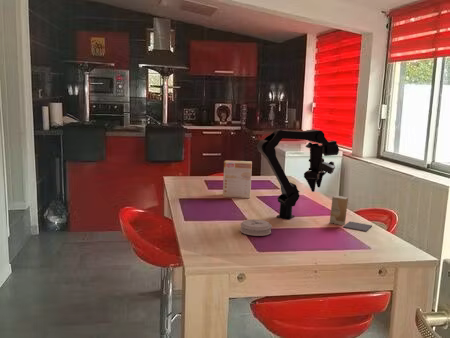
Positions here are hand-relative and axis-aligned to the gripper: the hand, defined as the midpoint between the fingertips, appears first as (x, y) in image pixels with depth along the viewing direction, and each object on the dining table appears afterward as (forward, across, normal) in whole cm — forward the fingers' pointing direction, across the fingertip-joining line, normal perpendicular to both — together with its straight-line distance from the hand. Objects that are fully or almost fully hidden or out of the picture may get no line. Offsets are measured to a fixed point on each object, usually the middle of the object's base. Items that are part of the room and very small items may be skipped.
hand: (316, 189), depth 213 cm
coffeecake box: (+11, +14, +49) cm, 52 cm away
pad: (+14, -7, -21) cm, 26 cm away
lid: (+10, -41, +13) cm, 44 cm away
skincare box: (+14, -6, -12) cm, 19 cm away
